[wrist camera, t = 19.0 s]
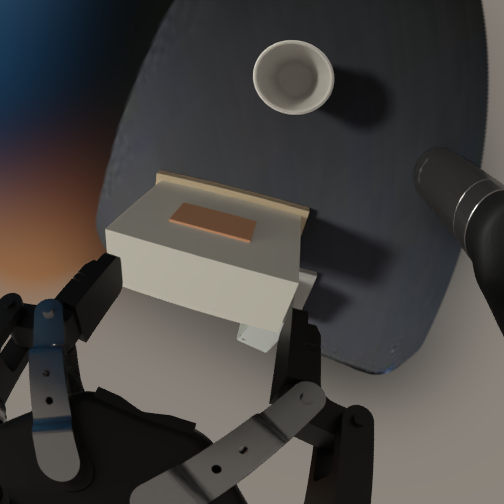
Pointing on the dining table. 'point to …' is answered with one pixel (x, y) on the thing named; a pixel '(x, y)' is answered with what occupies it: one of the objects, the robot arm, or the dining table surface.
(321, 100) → the dixie cup
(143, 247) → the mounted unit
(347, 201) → the dining table surface
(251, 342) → the small box
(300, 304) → the pad
